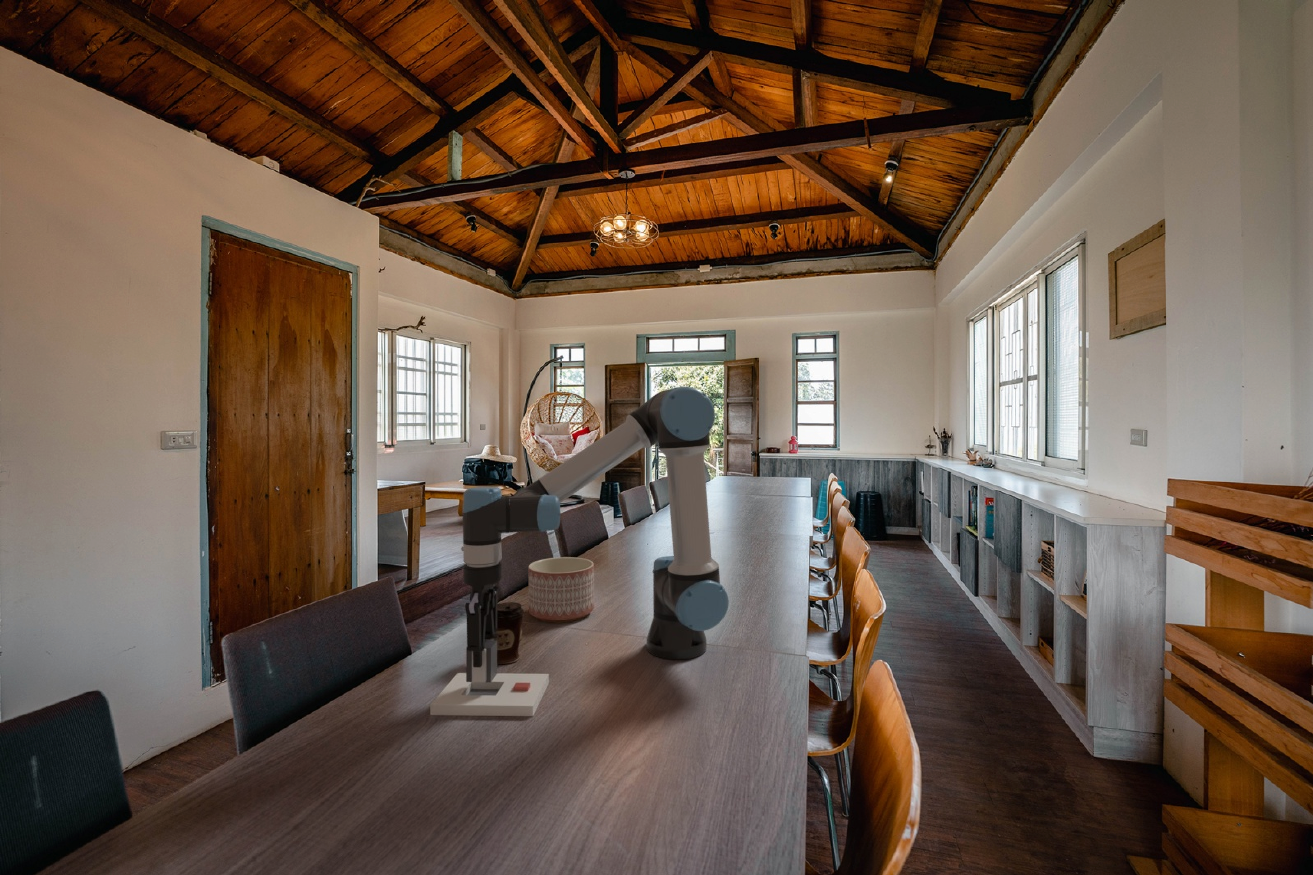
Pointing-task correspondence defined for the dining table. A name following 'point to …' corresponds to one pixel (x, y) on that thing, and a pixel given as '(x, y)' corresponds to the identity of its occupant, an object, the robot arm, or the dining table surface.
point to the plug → (490, 661)
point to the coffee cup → (508, 631)
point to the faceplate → (492, 696)
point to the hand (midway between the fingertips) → (483, 675)
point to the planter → (561, 589)
